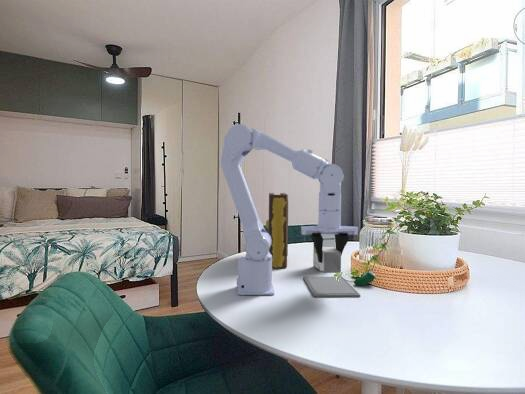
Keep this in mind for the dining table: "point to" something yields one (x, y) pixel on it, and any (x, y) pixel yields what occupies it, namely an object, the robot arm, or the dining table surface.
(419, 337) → the dining table surface
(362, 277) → the gaming controller
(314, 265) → the syrup box
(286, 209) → the book
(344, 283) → the mat
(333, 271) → the plug
